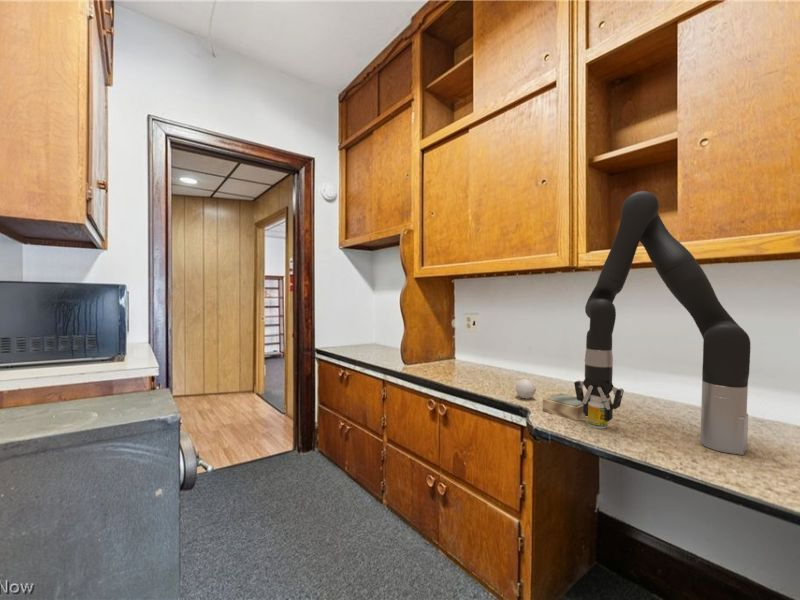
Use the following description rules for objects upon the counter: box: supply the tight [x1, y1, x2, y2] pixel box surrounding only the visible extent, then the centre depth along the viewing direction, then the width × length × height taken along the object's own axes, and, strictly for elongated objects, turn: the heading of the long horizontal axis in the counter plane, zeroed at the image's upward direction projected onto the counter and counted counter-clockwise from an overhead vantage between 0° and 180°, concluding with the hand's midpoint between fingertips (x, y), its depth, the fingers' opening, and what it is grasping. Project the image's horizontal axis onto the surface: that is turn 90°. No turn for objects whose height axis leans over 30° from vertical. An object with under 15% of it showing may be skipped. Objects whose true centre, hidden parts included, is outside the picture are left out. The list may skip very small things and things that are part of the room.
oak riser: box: [542, 392, 587, 421], centre depth 129 cm, size 12×12×4 cm
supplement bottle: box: [587, 395, 608, 430], centre depth 116 cm, size 5×5×10 cm
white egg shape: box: [514, 378, 537, 400], centre depth 146 cm, size 10×7×7 cm
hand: (597, 417), depth 116 cm, fingers closed on supplement bottle, 5 cm apart
